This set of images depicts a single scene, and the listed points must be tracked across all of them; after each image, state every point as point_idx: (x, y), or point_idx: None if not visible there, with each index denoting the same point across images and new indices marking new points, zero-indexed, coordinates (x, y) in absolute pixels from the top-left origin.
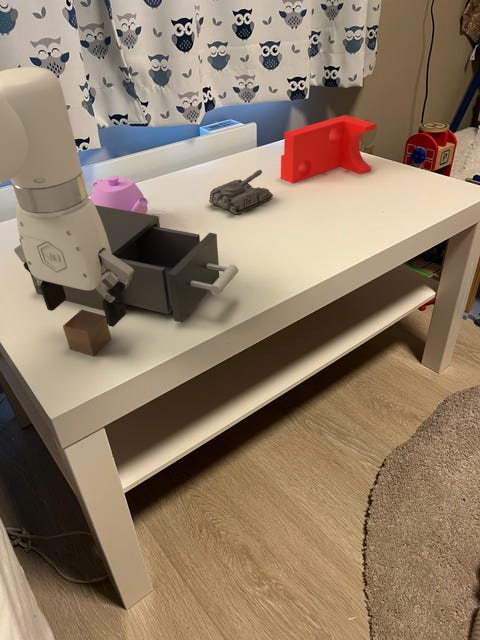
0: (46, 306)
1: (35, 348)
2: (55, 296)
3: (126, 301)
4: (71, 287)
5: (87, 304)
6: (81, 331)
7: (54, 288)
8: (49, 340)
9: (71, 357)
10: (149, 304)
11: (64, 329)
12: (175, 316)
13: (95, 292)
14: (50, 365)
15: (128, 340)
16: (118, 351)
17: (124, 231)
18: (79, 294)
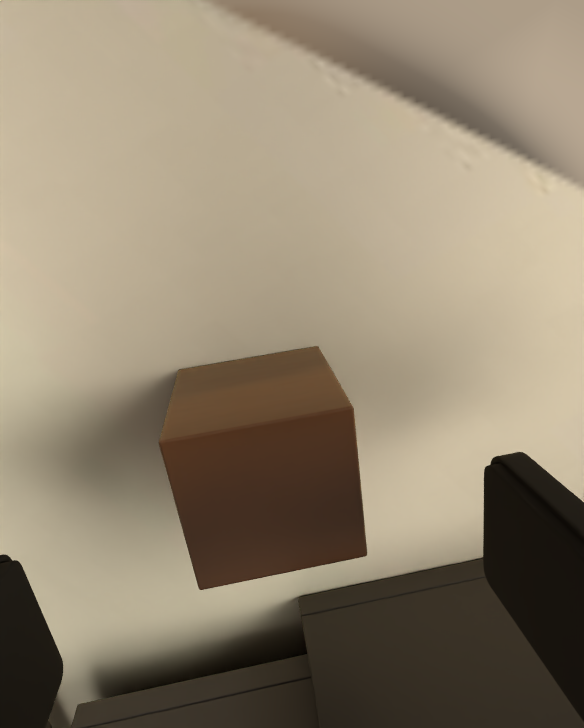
0: (540, 466)
1: (471, 265)
2: (531, 567)
3: (287, 671)
4: None
5: (455, 572)
6: (205, 431)
7: (575, 636)
8: (449, 339)
9: (267, 309)
10: (165, 714)
11: (341, 396)
12: None
13: (427, 655)
14: (313, 212)
15: (133, 517)
16: (109, 449)
17: None
18: None
